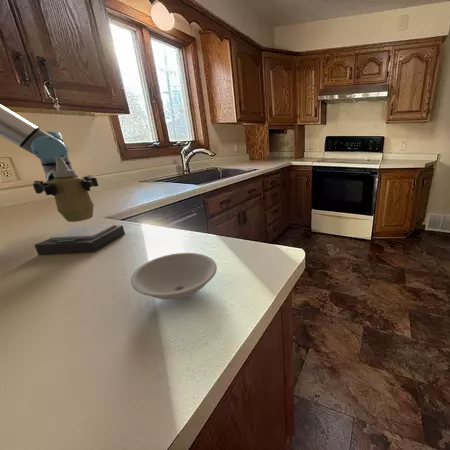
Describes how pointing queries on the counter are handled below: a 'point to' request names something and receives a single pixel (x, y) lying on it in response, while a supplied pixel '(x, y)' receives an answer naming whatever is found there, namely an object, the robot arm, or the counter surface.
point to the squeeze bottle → (71, 194)
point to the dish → (174, 275)
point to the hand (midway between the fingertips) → (70, 188)
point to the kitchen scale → (80, 239)
